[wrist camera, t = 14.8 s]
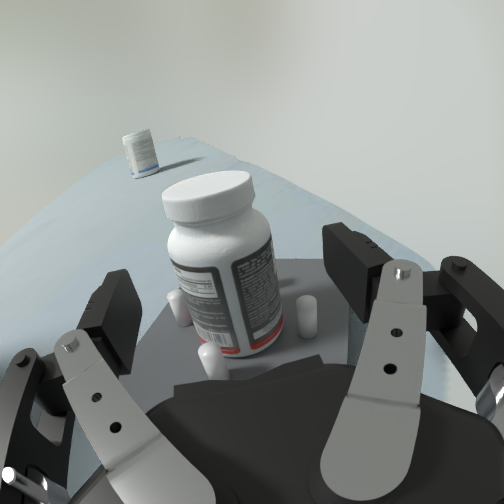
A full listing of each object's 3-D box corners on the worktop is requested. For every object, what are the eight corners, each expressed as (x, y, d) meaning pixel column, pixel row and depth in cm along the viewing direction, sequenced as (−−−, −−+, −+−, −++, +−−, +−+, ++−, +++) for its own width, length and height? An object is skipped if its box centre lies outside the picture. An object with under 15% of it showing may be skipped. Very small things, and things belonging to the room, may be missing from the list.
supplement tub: (164, 168, 92) (155, 127, 85) (151, 176, 84) (140, 131, 77) (141, 173, 95) (131, 133, 88) (126, 181, 86) (116, 138, 80)
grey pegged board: (102, 417, 14) (71, 382, 13) (205, 268, 29) (196, 235, 28) (332, 476, 10) (339, 451, 8) (348, 270, 25) (349, 233, 23)
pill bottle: (269, 294, 22) (248, 162, 17) (297, 344, 17) (279, 181, 12) (195, 314, 21) (155, 184, 16) (205, 371, 16) (147, 213, 12)
